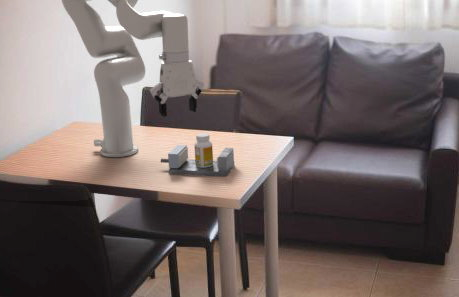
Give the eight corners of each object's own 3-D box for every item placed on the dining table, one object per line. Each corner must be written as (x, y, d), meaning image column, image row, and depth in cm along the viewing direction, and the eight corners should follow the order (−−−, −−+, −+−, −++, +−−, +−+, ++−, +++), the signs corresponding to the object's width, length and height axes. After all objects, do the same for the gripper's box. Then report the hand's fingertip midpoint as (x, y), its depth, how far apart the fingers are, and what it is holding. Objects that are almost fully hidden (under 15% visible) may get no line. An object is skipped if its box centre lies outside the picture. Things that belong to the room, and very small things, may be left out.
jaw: (156, 167, 207) (155, 153, 206) (166, 158, 216) (165, 144, 214) (179, 168, 206) (178, 154, 204) (188, 159, 214) (187, 145, 213)
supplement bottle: (215, 162, 210) (213, 132, 207) (211, 168, 205) (209, 137, 202) (197, 162, 211) (196, 132, 209) (193, 168, 206) (191, 137, 204)
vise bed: (168, 174, 207) (167, 155, 205) (179, 163, 216) (177, 145, 214) (226, 176, 202) (225, 157, 200) (234, 165, 211) (233, 147, 210)
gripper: (154, 62, 193) (157, 120, 198) (208, 55, 201) (209, 112, 207) (143, 58, 199) (146, 114, 205) (196, 51, 207) (198, 106, 213)
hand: (178, 113), depth 206 cm, fingers open, 9 cm apart
